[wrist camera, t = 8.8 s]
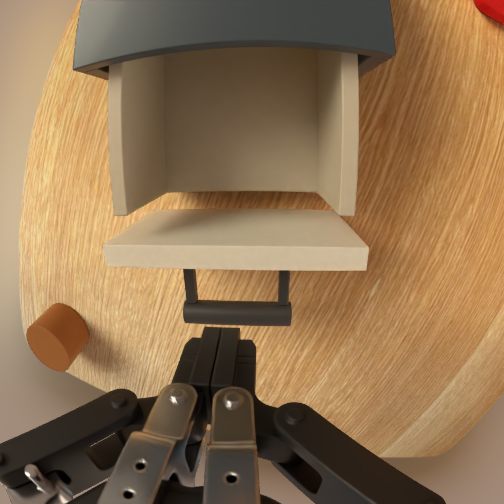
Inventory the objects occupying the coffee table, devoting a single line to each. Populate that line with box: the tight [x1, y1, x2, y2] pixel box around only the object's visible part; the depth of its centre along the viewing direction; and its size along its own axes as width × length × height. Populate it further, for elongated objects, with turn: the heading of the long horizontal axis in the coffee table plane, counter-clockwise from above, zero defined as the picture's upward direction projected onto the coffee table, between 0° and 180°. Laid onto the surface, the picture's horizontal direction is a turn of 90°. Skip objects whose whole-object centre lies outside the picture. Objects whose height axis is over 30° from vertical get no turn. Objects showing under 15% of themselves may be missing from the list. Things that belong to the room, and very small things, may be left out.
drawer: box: [103, 47, 369, 326], centre depth 16 cm, size 20×13×8 cm
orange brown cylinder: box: [27, 303, 89, 371], centre depth 25 cm, size 6×6×4 cm
